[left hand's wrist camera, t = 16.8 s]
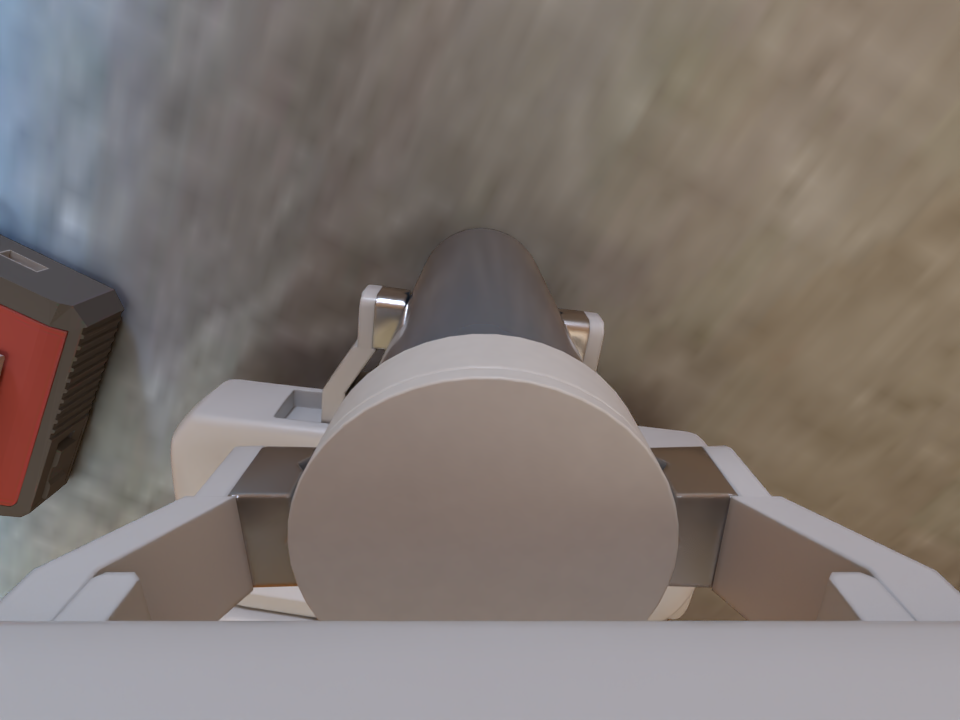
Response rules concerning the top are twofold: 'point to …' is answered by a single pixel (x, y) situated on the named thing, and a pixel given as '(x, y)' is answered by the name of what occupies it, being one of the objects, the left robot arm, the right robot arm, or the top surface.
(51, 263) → the walkie-talkie
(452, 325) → the dark grey cylinder
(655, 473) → the lid
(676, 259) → the top surface
